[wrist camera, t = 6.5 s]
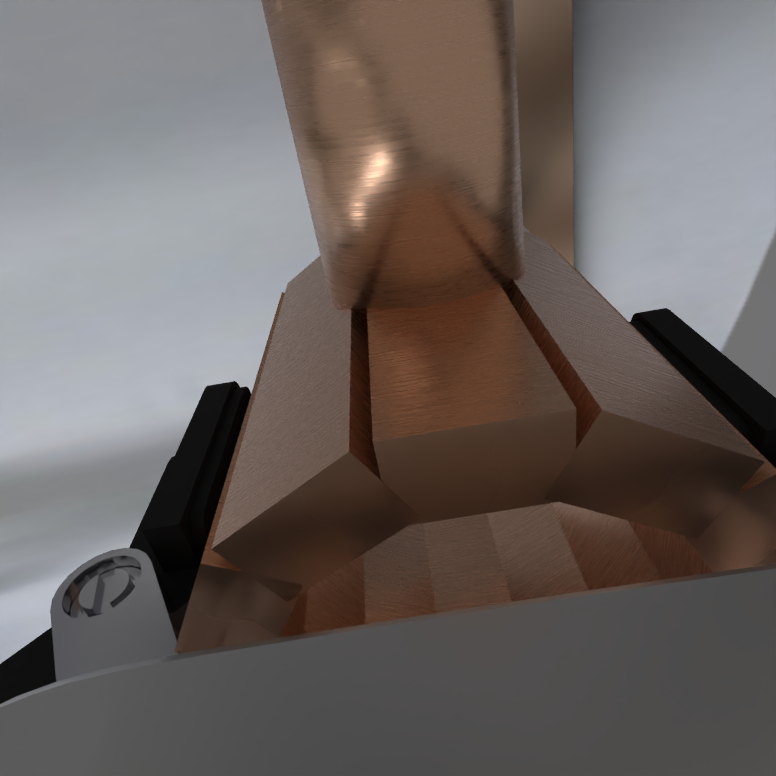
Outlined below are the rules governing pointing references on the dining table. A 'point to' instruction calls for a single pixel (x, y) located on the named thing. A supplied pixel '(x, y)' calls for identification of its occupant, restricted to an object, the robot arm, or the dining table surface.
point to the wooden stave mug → (448, 367)
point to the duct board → (546, 119)
